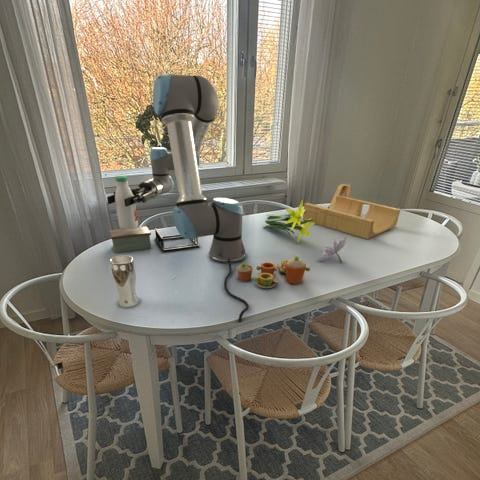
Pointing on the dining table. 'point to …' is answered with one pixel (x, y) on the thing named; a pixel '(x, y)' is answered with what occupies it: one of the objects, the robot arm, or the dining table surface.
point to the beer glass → (125, 279)
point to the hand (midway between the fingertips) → (116, 201)
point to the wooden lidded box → (130, 239)
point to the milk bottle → (125, 214)
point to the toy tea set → (289, 267)
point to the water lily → (337, 247)
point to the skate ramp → (352, 215)
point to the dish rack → (174, 248)
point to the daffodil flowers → (290, 221)
